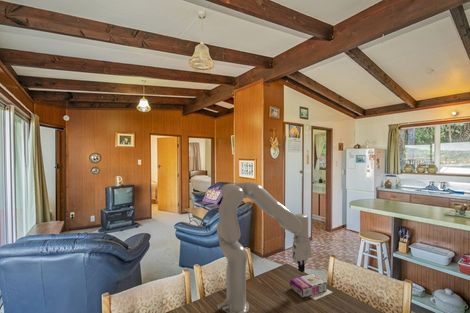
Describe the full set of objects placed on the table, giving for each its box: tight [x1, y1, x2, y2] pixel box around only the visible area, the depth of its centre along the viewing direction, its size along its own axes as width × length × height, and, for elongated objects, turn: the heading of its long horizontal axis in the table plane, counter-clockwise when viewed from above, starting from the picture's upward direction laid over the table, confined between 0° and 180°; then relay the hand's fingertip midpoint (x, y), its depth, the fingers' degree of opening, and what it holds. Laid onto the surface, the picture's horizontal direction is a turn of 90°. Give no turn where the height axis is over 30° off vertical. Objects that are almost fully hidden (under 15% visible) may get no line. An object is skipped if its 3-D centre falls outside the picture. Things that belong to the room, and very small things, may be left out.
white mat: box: [308, 288, 333, 301], centre depth 139 cm, size 13×19×1 cm
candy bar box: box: [289, 273, 328, 299], centre depth 137 cm, size 11×5×16 cm
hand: (301, 271), depth 135 cm, fingers closed
